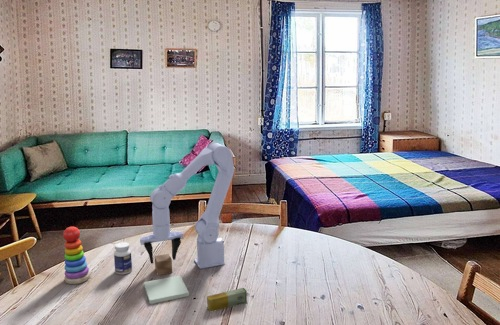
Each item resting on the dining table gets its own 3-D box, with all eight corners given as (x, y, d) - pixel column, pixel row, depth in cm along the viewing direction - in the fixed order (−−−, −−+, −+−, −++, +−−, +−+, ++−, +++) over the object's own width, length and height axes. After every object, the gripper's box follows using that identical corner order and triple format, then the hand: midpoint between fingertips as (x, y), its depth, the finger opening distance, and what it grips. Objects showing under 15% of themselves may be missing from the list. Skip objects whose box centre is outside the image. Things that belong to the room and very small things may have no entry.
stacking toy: (79, 271, 144) (74, 221, 140) (95, 277, 140) (90, 225, 137) (59, 281, 138) (53, 228, 134) (75, 287, 134) (70, 233, 130)
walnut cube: (169, 266, 148) (168, 253, 147) (172, 272, 144) (171, 259, 143) (155, 269, 146) (154, 256, 145) (157, 275, 142) (157, 261, 141)
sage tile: (180, 278, 139) (180, 275, 139) (188, 295, 128) (188, 292, 128) (143, 285, 135) (143, 282, 135) (149, 304, 124) (149, 300, 124)
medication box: (244, 299, 127) (243, 287, 126) (247, 303, 125) (247, 291, 124) (206, 308, 122) (206, 295, 121) (209, 312, 120) (209, 299, 119)
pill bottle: (127, 275, 141) (125, 248, 139) (112, 274, 142) (110, 247, 140) (135, 268, 147) (133, 242, 145) (120, 266, 148) (118, 240, 146)
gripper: (179, 217, 148) (180, 252, 150) (137, 222, 142) (140, 259, 145) (184, 223, 141) (185, 260, 144) (140, 229, 136) (143, 267, 139)
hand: (162, 260), depth 144 cm, fingers open, 7 cm apart
